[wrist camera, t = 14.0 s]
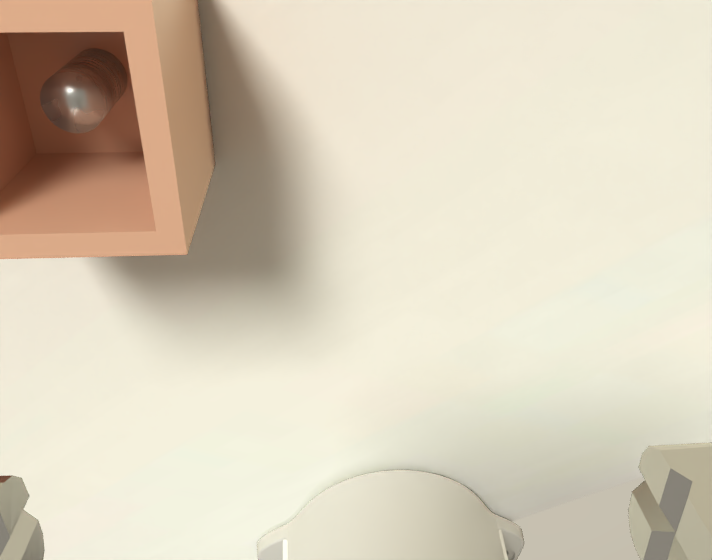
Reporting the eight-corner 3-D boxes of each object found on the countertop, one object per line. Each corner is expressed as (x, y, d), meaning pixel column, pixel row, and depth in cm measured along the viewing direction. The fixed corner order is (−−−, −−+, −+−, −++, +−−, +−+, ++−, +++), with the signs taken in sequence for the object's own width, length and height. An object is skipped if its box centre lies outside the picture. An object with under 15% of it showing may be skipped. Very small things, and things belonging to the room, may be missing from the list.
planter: (215, 164, 33) (187, 254, 26) (25, 167, 33) (-61, 260, 25) (193, -39, 29) (151, -3, 21) (-28, -39, 28) (-155, -2, 20)
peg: (131, 103, 31) (109, 133, 27) (76, 103, 31) (47, 133, 27) (122, 47, 29) (98, 71, 26) (65, 48, 29) (33, 72, 26)
